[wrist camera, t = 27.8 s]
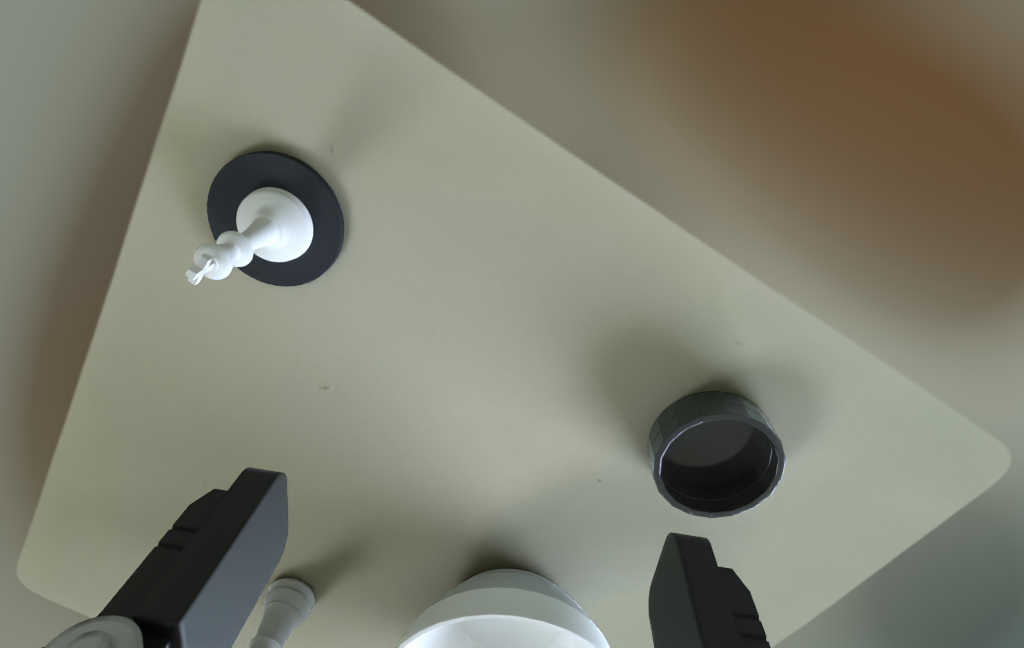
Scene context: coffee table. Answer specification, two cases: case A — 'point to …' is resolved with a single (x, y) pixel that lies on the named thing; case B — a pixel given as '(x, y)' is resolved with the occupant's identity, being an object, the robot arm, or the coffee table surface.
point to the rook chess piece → (282, 612)
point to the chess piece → (257, 235)
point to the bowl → (504, 616)
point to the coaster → (295, 179)
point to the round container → (715, 454)
